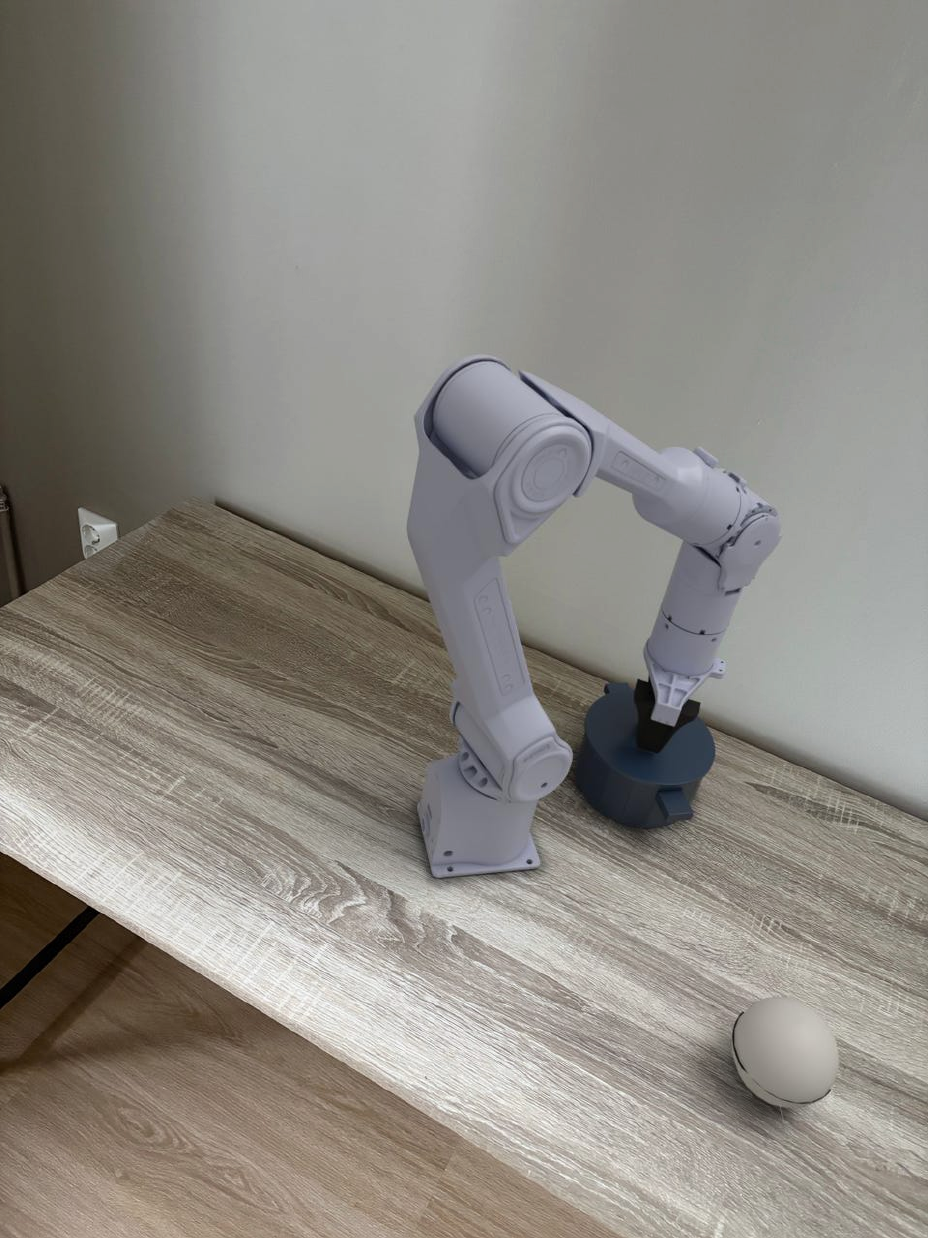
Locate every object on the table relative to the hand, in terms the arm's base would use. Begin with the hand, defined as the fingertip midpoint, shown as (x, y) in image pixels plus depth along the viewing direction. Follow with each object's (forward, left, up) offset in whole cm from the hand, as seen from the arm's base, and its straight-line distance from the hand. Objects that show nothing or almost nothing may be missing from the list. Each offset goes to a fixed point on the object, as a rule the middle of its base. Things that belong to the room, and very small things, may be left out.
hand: (652, 729), depth 90 cm
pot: (0, 0, -7) cm, 7 cm away
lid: (0, 0, -1) cm, 1 cm away
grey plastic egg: (-1, -30, -7) cm, 31 cm away
